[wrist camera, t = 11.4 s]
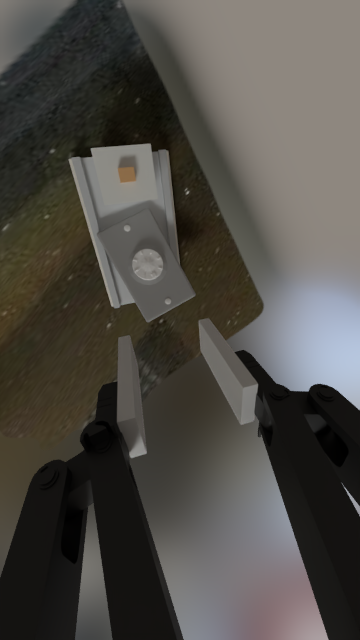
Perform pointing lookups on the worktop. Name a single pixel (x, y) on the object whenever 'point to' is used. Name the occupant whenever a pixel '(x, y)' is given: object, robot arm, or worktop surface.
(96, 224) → the rail board
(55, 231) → the worktop surface
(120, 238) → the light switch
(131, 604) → the robot arm
